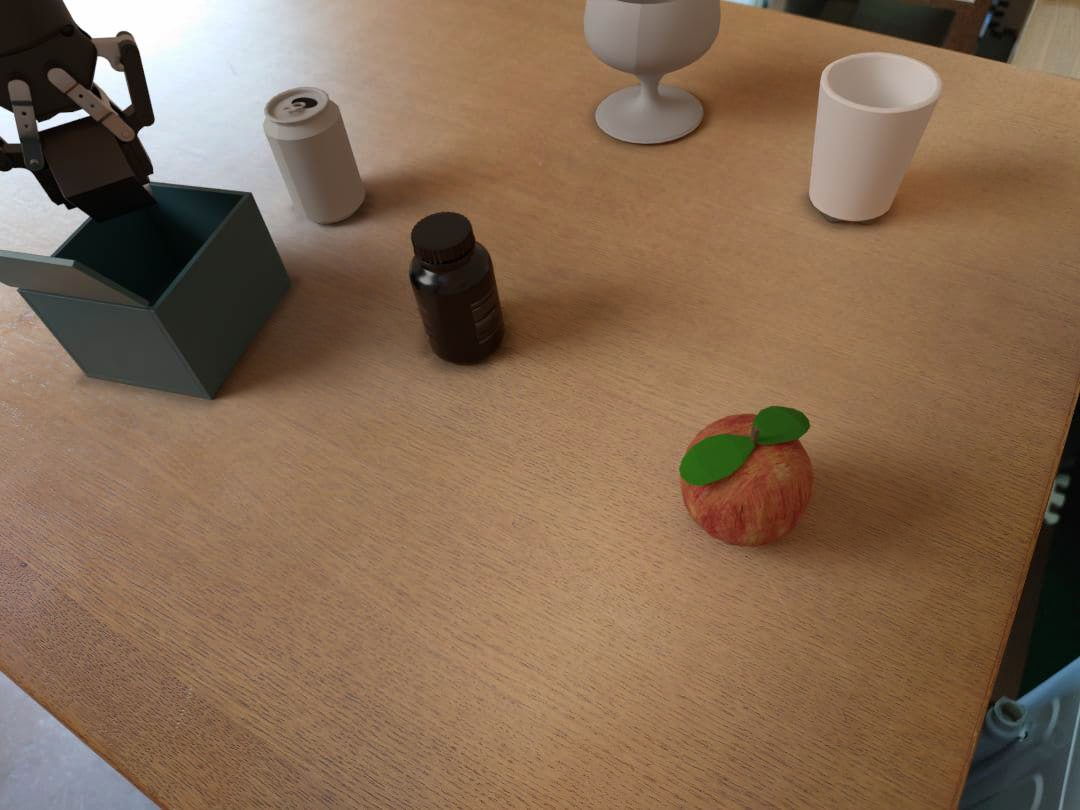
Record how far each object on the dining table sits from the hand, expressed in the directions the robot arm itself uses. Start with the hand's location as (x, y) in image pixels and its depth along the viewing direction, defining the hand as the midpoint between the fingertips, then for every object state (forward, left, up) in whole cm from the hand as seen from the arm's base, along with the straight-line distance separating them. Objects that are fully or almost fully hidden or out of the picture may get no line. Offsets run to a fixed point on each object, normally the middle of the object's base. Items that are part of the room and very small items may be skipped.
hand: (109, 190), depth 61 cm
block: (0, +5, -2) cm, 6 cm away
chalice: (+54, +1, -15) cm, 56 cm away
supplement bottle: (+20, -17, -15) cm, 30 cm away
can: (+18, +9, -15) cm, 25 cm away
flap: (-7, -6, -1) cm, 9 cm away
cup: (+59, -24, -15) cm, 66 cm away
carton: (0, 0, -15) cm, 15 cm away
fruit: (+27, -44, -15) cm, 54 cm away
